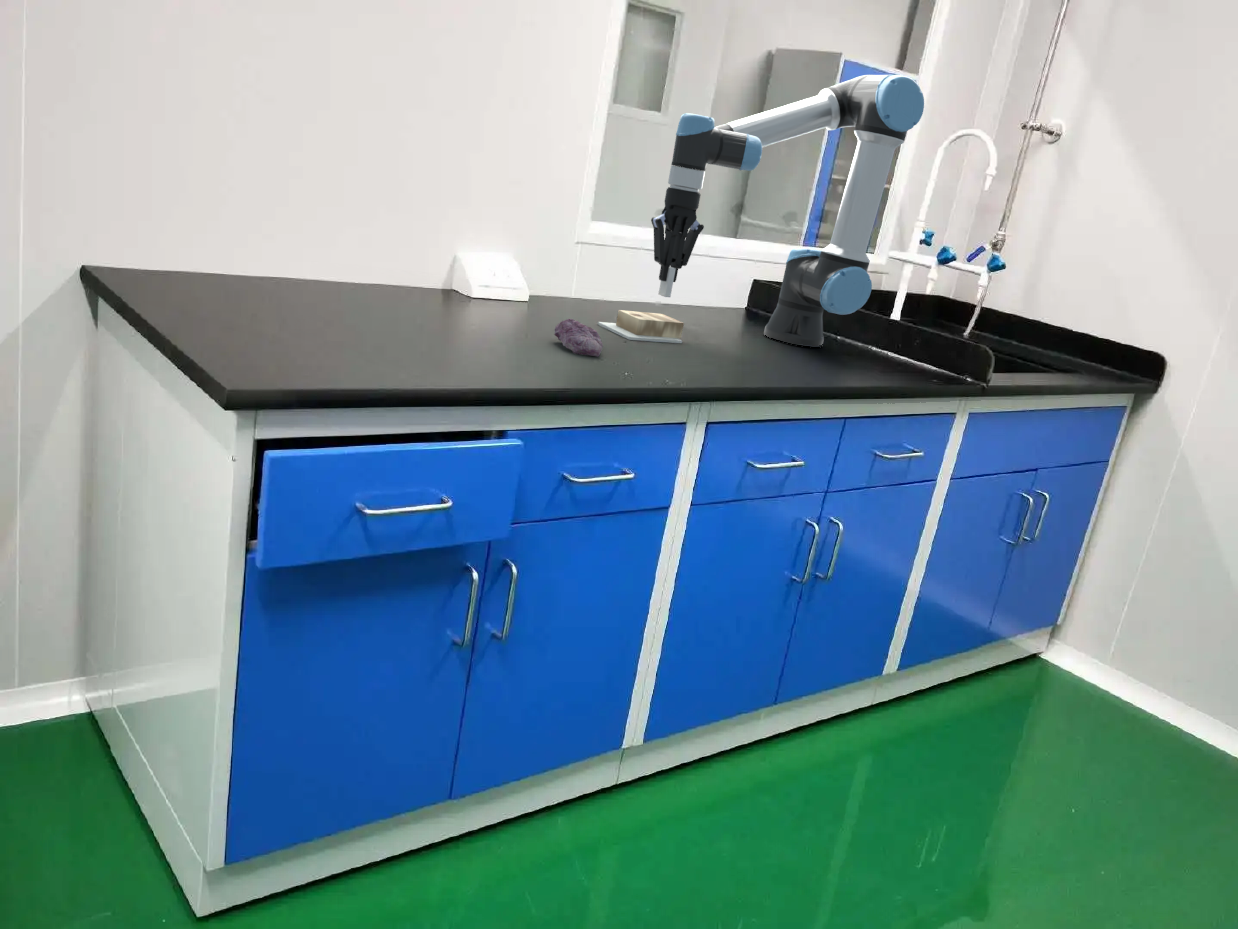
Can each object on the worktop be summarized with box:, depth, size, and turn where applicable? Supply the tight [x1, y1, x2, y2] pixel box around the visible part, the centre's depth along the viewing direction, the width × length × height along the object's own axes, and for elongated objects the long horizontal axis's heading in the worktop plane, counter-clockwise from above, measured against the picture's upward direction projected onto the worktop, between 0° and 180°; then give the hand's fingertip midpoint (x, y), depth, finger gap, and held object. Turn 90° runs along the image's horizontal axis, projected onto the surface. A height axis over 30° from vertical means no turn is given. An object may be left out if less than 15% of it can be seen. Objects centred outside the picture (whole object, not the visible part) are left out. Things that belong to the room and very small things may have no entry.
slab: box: [615, 309, 685, 339], centre depth 228 cm, size 4×9×12 cm
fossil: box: [553, 318, 604, 358], centre depth 198 cm, size 8×14×5 cm, turn 30°
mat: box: [597, 321, 683, 344], centre depth 227 cm, size 14×14×1 cm
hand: (664, 295), depth 227 cm, fingers closed
